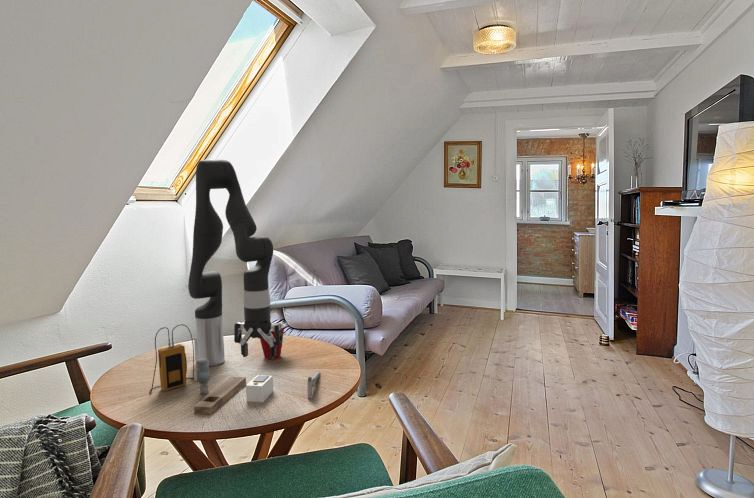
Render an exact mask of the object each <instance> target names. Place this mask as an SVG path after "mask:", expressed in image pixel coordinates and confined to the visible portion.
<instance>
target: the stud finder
mask: <svg viewBox="0 0 754 498" xmlns="http://www.w3.org/2000/svg"><path fill="white" fill-rule="evenodd" d="M273 392H274V376H273V375H265V374H264V375H261V374H257V375H256V376H255V377H253V378H252V379H251V380H250V381H249V382H248V383H246V384H245V395H246V397H245V398H246V402H253V403H264V402H265V401H266V399H267V398H268V397H270V395H272V393H273Z"/></svg>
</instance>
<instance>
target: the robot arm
mask: <svg viewBox="0 0 754 498" xmlns="http://www.w3.org/2000/svg"><path fill="white" fill-rule="evenodd" d="M218 189H219V190H221V189H225V190H227V192H228V198H227V199H228V200H227V203H226V206H225V211H224V212H225V213H224V214H225V218H226V221H227V223H228V226H229V227H230V230H231V231H232V234H233V239H234V244H235V245H234V247H235V254H236V256H237V257H238V259H239V260H240V261H242V262H244V263H251V262H256V264H255V265H254V266H252V268H249V269H246V270H245V271H244V272H243V314H244V315H243V317H244V322H242V321H240V320H239V321H238V322H236V323H234V329H233V330H234V331H233V333H234V335H233V336H234V337H233V338H234V343H236V344H240V354H241V356H242V358H247V357H248V356H249V343H247V342H248V341H249V340H250V338H251V339H256V338H257V339H259V340H260V339H262V338H264V339H265V341H267V342H268V343H269V345H270V359H272V360H274V359H273V358H274V357H275V356H276V354H277V352H276V345H279V344H280V343H282V344H283V341H284V338H283V339H282V329H281V324H280V323H281V322H277V323H278V324H272V321H271V296H270V291H269V288H270V287H269V273H270V269H271V263H272V259H273V255H274V244H273V242H272V240H271V239H270V238H269V236H265V235H264V236H263V235H262V236H254V235H255V233H256V232H257V229H258V228H257V224H256V222H255V220H254V218H253V216H252V214H251V212H250V211H249V209H248V206H247V204H246V202H245V199H244V196H243V192H242V188H241V185H240V183H239V179H238V177H237V173H236V171H235V168H234V166H233V164H232V163H231V161H229V160H227V159H201V160H199V161H198V162H197V165H196V170H195V211H194V212H195V213H194V223H193V235H192V237H193V239H192V241H193V242H192V256H191V263H190V269H189V270H190V271H189V276H188V285H187V287H188V292H189V293H188V294H189V296H190V297H191V298H192V299H195V300H197V299H198V300H200V299H205V298H207V299H208V298H209V299H208V300H207V302H205V303H203V304H202V305H200V306H197V308H195V310H194V321H195V322H194V323H195V335H196V336H195V337H194V339H193V346H194V364H196V362H197V360H198V359H202V358H206V359H207V360H208V361H209V367H212V366H218V365H220V364H222V363H224V362H226V360H225V359H226V358H225V356H226V355H225V344H224V342H225V341H224V321H223V279H222V276H221V273H219V272H218V271H217V270H211V271H210V270H209V271H205V270H204V269H205V267H206V265H207V264H208V262H209V260H210V259H211V258H212V257H213V256H214V255H215V253H216V252H217V251H218V250H219V248H220V246H221V244H222V241H223V232H224V223H223V221H222V218H221V217H220V216H219V214H218V212H217V211H216V209H215V208H214V206H213V204H212V202H211V196H210V195H211V194H210V192H211V190H218ZM271 328H272V329H273V331H274V332H275V338H274V337H273V334H272V333H271V332H270V330H271ZM243 329H244V330H245V335H244V336H243V334H242V332H243ZM267 335H268V336H267Z"/></svg>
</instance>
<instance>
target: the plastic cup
mask: <svg viewBox="0 0 754 498" xmlns="http://www.w3.org/2000/svg"><path fill="white" fill-rule="evenodd" d="M278 323H280V324H281V329H282V339H283V340H284V333H285V327H286V324H285V323H282V322H274V323H273V322H271V324H278ZM270 332H271V333H272V334H273V337H274V338H275V332H274V331H273V329H272V328H271V330H270ZM267 336H268V335H267ZM259 340H260V345H261V349H262V352H263V356H264V359H265V360H268V361H269V360H271V361H273V360H276V359H279V358H280V357H281V354H282V348H283V342H282V343H280V344H279V345H276V352H277V354H276V356H275V357H274V358H273V359H270V345H269V343H268V342H267V341H265V339H264V338H262V339H260V338H259Z"/></svg>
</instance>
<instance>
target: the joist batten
mask: <svg viewBox="0 0 754 498" xmlns="http://www.w3.org/2000/svg"><path fill="white" fill-rule="evenodd" d="M246 385H247V377H246V376H229V378H228V379H226V380H225V381H224V382H222V383H221V384H220V385H219V386H217V387H216V388H215V389H213V391H211V392H210V393H208V394H206V396H205V397H204V398H202V399H201V400H200V401H199V402H197V403H196V404H195V405H194V406H193V413H194V414H201V415H203V414H204V415H212V414H213V413H214V412H216V410H218V409H219V408H220V407H221V406H222V405H223V404H224V403H226V402H227V401H228V400H230V398H231V397H232V396H233V395H235V394H236V393H237V392H238V391H240V389H241V388H243V387H244V386H246Z"/></svg>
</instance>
